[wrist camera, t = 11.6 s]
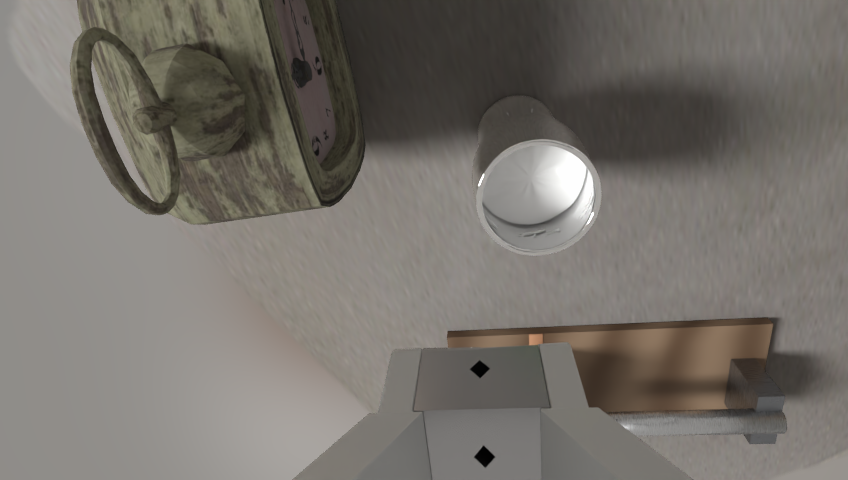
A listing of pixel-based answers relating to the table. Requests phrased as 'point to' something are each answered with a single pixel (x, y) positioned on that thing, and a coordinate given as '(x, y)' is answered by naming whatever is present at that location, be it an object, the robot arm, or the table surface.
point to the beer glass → (532, 179)
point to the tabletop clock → (221, 104)
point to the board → (645, 359)
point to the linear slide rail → (721, 410)
